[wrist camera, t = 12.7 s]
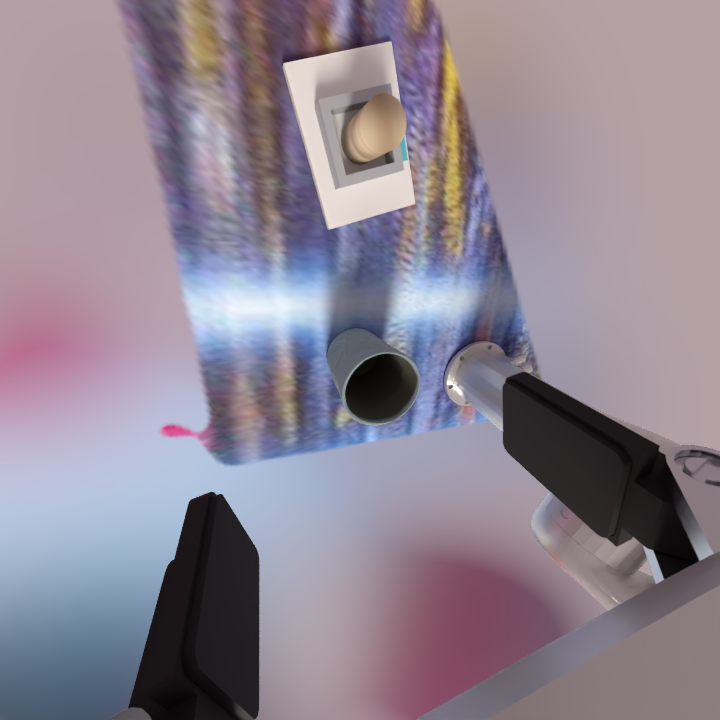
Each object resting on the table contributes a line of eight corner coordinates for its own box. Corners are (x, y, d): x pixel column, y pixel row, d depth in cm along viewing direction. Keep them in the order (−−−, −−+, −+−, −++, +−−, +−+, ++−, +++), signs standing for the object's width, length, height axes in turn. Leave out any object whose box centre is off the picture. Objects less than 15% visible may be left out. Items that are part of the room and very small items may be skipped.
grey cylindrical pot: (312, 339, 45) (329, 375, 34) (374, 310, 46) (409, 337, 35) (337, 393, 49) (359, 439, 39) (393, 366, 50) (429, 403, 40)
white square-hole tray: (387, 45, 34) (401, 28, 31) (411, 204, 41) (424, 202, 38) (282, 67, 32) (285, 51, 29) (327, 229, 39) (333, 229, 36)
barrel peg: (372, 114, 35) (401, 88, 28) (380, 159, 37) (410, 144, 30) (336, 124, 34) (357, 99, 27) (347, 169, 36) (369, 156, 29)
